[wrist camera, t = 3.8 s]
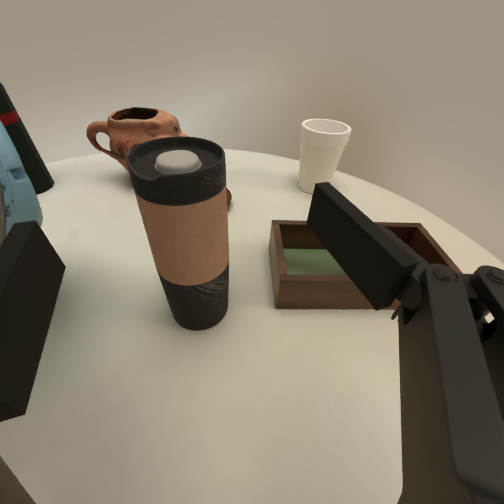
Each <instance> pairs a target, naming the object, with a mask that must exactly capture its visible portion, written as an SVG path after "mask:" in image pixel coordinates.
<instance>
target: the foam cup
mask: <svg viewBox="0 0 504 504" xmlns="http://www.w3.org/2000/svg"><path fill="white" fill-rule="evenodd" d="M351 130H352V129H351V128H350V126H349V125H346V124H345V123H342V122H339V121H335V120H329V119H310V120H305V121H304V122H302V125H301V131H300V138H301V145H300V170H299V188H300V189H301V190H302V191H304V192H306V193H310V194H313V192H314V187H315V183H321V182H329V183H330V182H331V179H332V177H333V174H334V172H335V170H336V167H337V165H338V162H339V160H340V157H341V155H342V153H343V150H344V148H345V145H346V144H347V143H348V141H349V137H350V133H351Z"/></svg>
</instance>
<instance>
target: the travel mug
mask: <svg viewBox="0 0 504 504" xmlns="http://www.w3.org/2000/svg"><path fill="white" fill-rule="evenodd" d="M126 163H127V167H128V170H129V174H130V177H131V181H132V184H133V188H134V191H135V195H136V198H137V202H138V205H139V209H140V212H141V216H142V219H143V223H144V226H145V230H146V233H147V237H148V240H149V244H150V247H151V251H152V254H153V258H154V261H155V265H156V268H157V271H158V274H159V277H160V280H161V283H162V286H163V288H164V291H165V294H166V297H167V300H168V303H169V306H170V308H171V311H172V314H173V316H174V318H175V320H176V321H177V322H178V323H179V324H180V325H181V326H183V327H185V328H187V329H190V330H204V329H208V328H210V327H213V326H214V325H216V324H217V323H219V322H220V321H221V320H222V319H223V317H224V316H225V314H226V312H227V308H228V286H229V245H228V218H227V192H226V165H225V153H224V151H223V149H222V148H221V147H220V146H219V145H218V144H216V143H214V142H212V141H209V140H206V139H201V138H196V137H182V136H178V137H164V138H158V139H153V140H149V141H146V142H143V143H141V144H139V145H137V146H135V147H133V148H132V149H131V150H130V151H129V152H128V154H127V156H126Z"/></svg>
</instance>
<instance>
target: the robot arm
mask: <svg viewBox="0 0 504 504" xmlns="http://www.w3.org/2000/svg"><path fill="white" fill-rule="evenodd" d="M42 221H43V216H42V211H41V207H40V204H39V201H38V198H37V196H36V193H35V190H34V188H33V186H32V183H31V181H30V179H29V177H28V175H27V174H26V173H25V171H24V167H23V165H22V162H21V159H20V157H19V155H18V152H17V150H16V148H15V146H14V144H13V143H12V141H11V139H10V137H9V135H8V133H7V131H6V129H5V128H4V126H3V124H2V122H1V121H0V422H1V421H5V420H8V419H12V418H15V417H18V416H22V415H25V413H26V409H27V406H28V402H29V398H30V395H31V391H32V387H33V384H34V380H35V376H36V373H37V369H38V366H39V362H40V358H41V355H42V351H43V347H44V344H45V340H46V336H47V333H48V329H49V325H50V322H51V318H52V315H53V311H54V307H55V304H56V300H57V296H58V293H59V289H60V285H61V282H62V278H63V274H64V271H65V265H64V264H63V262H62V260H61V259H60V257H59V256H58V254H57V253H56V251H55V250H54V248H53V246H52V245H51V243H50V242H49V240H48V239H47V237H46V236H45V234H44V232H43V231H42V229H41V228H40V227H41V225H42ZM307 226H308V227H309V228H310V229H311V231H312V232H313V233H314V234H315V236H316V237H317V238H318V239H319V241H320V242H321V243H322V244H323V246H324V247H325V248H326V249H327V251H328V252H329V253H330V254H331V255H332V257H333V258H334V259H335V260H336V262H337V263H338V264H339V265H340V267H341V268H342V269H343V270H344V272H345V273H346V274H347V275H348V277H349V278H350V279H351V280H352V282H353V283H354V284H355V285H356V287H357V288H358V289H359V290H360V292H361V293H362V294H363V295H364V296H365V298H366V299H367V300H368V301H369V303H370V304H371V305H372V306H373V308H374V309H375V310H376V311H377V310H380V309H384V308H387V307H390V306H391V305H392V303H393V302H394V300H395V298H397V299H398V300H399V301H400V305H399V306H398V308H397V309H396V311H395V312H394V313H393V315H392V318H391V319H392V320H394V319H395V317H396V316H397V315H398V325H399V362H400V398H401V435H402V471H403V488H402V494H401V496H400V498H399V501H398V503H397V504H504V270H502V269H499V268H496V267H492V266H481V267H479V268H478V269H477V270H476V271H475V272H474V273H473V274H458V273H457V272H456V271H455V270H453V269H451V268H450V267H448V266H445V265H442V264H436V263H434V264H429V263H428V262H427V261H426V260H424V259H423V258H422V257H421V256H420V255H419V254H417V253H416V252H415V251H414V250H413V249H412V248H410V247H409V246H408V245H407V244H406V243H404V242H403V241H402V240H401V239H400V238H397V236H396V235H395V234H394V233H393V232H392V231H391V230H389V229H388V228H386V227H384V226H382V225H380V224H375V223H374V222H373V221H372V220H370V219H369V218H368V217H367V216H366V215H365V214H364V213H363V212H361V211H360V210H359V209H358V208H357V207H356V206H355V205H353V204H352V203H351V202H350V201H349V200H348V199H347V198H346V197H344V196H343V195H342V194H341V193H340V192H339V191H338V190H336V189H335V188H334V187H333V186H332V185H331V184H330V183H329V182H321V183H315V187H314V192H313V196H312V201H311V205H310V210H309V214H308V219H307ZM490 312H491V314H492V315H493V317H494V318H495V319H494V320H493V321H491V322H490V323H488V322H487V321H486V320H485V318H484V317H485V316H486V315H487V314H489V313H490ZM0 504H36V503H35V502H34V501H33V499H32V498H31V497H30V495H29V494H28V493H27V491H26V490H25V489H24V487H23V486H22V485H21V483H20V482H19V481H18V479H17V478H16V477H15V475H14V474H13V473H12V471H11V470H10V469H9V467H8V466H7V465H6V463H5V462H4V461H3V459H2V458H1V457H0Z"/></svg>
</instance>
